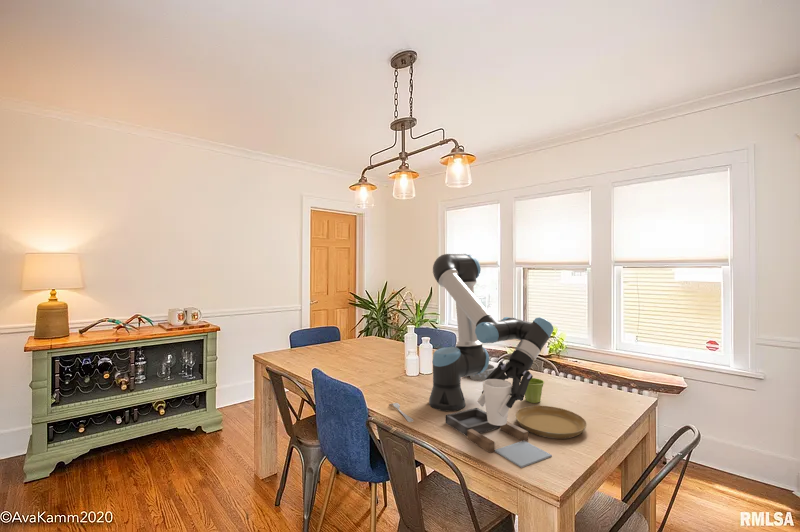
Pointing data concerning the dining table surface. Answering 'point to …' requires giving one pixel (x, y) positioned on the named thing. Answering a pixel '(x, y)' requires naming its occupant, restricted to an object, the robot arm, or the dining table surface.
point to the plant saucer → (550, 421)
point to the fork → (402, 412)
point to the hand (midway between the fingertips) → (489, 408)
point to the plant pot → (534, 390)
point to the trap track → (481, 427)
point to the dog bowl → (483, 373)
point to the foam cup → (496, 399)
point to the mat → (523, 453)
